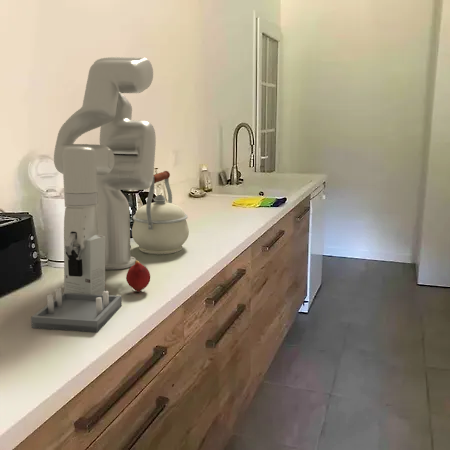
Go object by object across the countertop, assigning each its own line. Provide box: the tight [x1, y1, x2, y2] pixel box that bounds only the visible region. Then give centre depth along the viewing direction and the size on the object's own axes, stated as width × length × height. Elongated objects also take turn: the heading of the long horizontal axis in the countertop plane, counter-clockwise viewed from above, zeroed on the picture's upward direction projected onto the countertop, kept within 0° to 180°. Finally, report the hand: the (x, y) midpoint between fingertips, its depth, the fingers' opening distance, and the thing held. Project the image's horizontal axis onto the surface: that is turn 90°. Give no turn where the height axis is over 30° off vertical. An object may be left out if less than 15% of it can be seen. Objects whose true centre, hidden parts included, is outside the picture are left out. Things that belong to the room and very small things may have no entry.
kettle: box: [131, 170, 190, 255], centre depth 168 cm, size 25×18×25 cm
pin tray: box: [30, 287, 123, 333], centre depth 112 cm, size 15×14×5 cm
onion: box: [125, 259, 151, 293], centre depth 127 cm, size 6×6×8 cm
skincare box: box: [63, 235, 106, 295], centre depth 124 cm, size 8×6×15 cm
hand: (84, 270), depth 124 cm, fingers open, 9 cm apart
